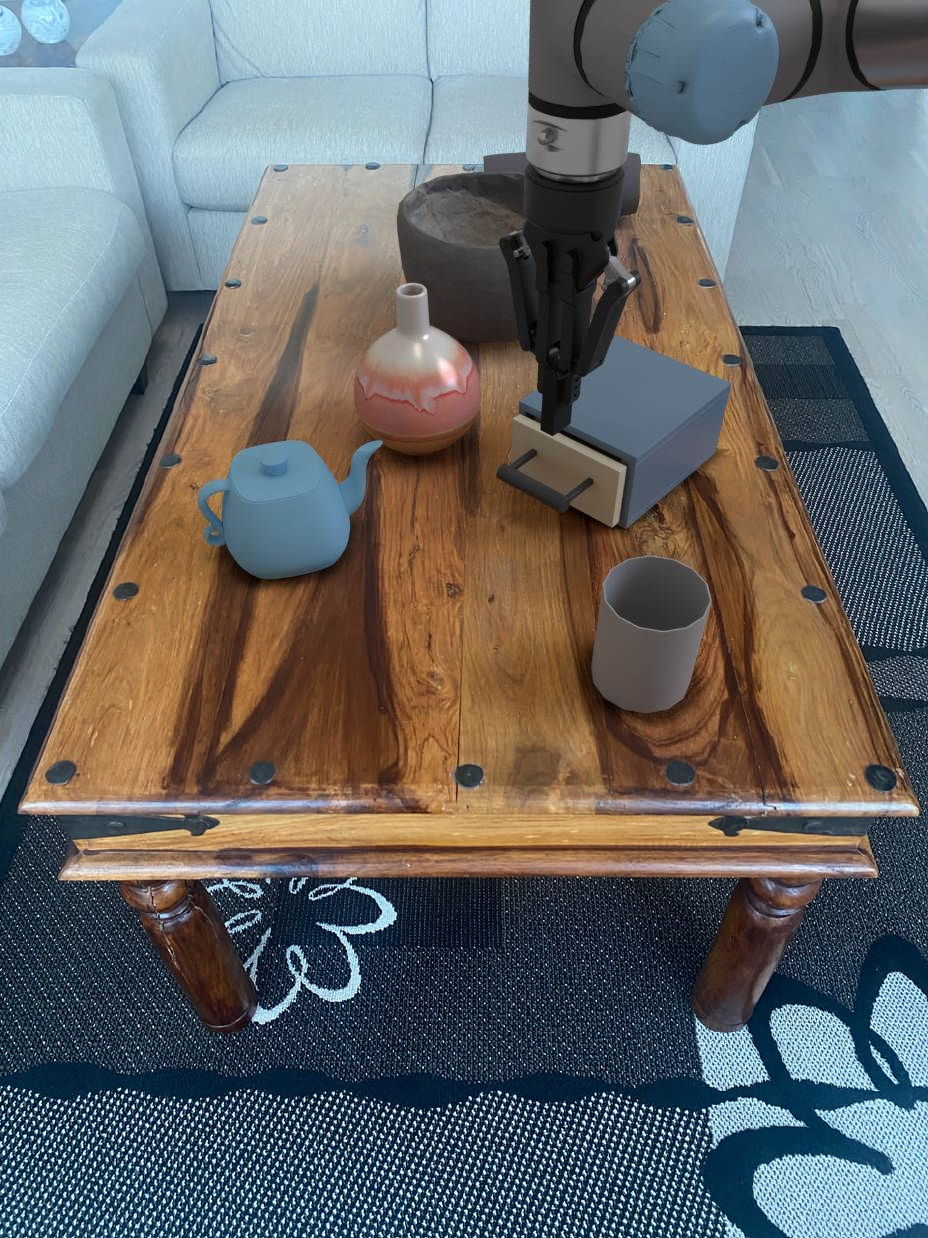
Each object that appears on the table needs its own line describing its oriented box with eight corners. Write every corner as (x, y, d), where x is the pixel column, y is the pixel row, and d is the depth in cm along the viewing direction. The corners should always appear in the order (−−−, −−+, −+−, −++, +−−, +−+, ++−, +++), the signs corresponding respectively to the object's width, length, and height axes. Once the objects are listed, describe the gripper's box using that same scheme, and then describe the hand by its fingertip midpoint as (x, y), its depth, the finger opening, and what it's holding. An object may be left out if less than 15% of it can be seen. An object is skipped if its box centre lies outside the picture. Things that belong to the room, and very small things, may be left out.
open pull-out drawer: (578, 556, 88) (584, 500, 83) (476, 498, 94) (476, 442, 89) (698, 455, 98) (709, 400, 93) (599, 409, 105) (605, 355, 100)
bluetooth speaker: (484, 236, 137) (484, 166, 130) (482, 209, 144) (482, 141, 137) (636, 233, 137) (644, 163, 130) (628, 207, 144) (636, 138, 136)
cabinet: (625, 529, 92) (636, 458, 86) (516, 471, 99) (518, 400, 92) (715, 452, 100) (731, 382, 94) (609, 403, 107) (617, 335, 101)
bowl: (449, 263, 132) (446, 152, 121) (611, 296, 124) (624, 182, 113) (365, 345, 117) (353, 227, 106) (544, 388, 109) (551, 267, 98)
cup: (696, 713, 76) (719, 632, 69) (596, 713, 76) (608, 632, 69) (681, 637, 82) (700, 555, 75) (588, 637, 82) (599, 555, 75)
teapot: (397, 475, 81) (190, 514, 78) (404, 564, 89) (216, 602, 86) (367, 398, 89) (179, 430, 86) (376, 485, 97) (204, 517, 94)
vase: (342, 421, 105) (322, 273, 92) (451, 392, 109) (447, 247, 96) (384, 489, 97) (370, 337, 84) (501, 456, 100) (504, 305, 88)
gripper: (476, 156, 70) (476, 417, 87) (616, 203, 64) (587, 474, 81) (539, 128, 74) (527, 384, 91) (677, 170, 68) (636, 436, 85)
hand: (555, 426), depth 86 cm, fingers closed
